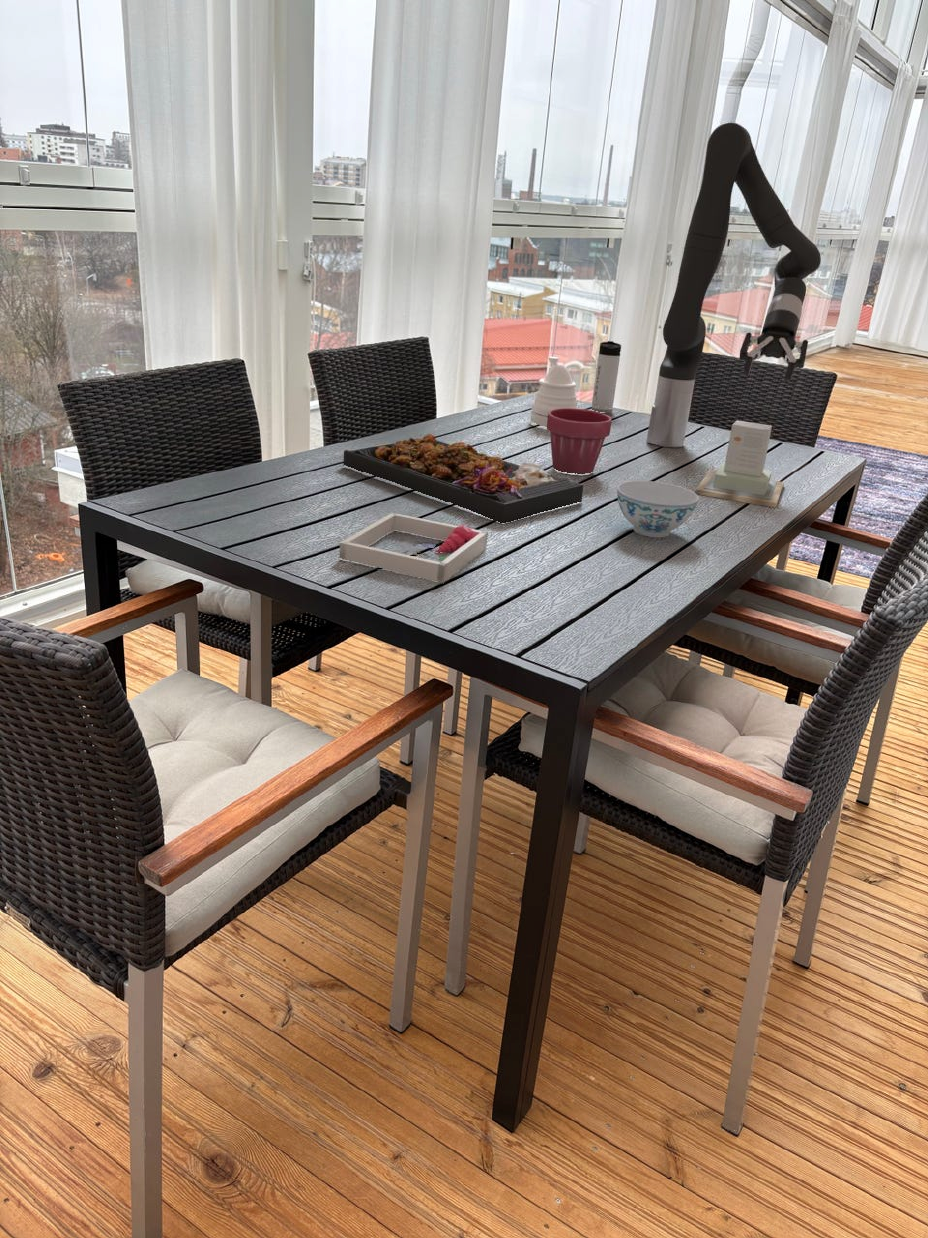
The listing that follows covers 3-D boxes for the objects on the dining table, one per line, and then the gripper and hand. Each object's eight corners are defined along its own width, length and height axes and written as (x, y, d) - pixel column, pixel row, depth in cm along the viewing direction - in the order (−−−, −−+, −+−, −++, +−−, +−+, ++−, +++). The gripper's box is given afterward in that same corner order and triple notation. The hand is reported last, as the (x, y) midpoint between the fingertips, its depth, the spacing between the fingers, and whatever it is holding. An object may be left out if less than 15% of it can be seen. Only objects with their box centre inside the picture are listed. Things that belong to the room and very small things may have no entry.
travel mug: (611, 410, 286) (621, 341, 278) (612, 414, 280) (622, 344, 272) (590, 408, 287) (599, 339, 279) (591, 412, 281) (600, 342, 273)
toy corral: (339, 560, 152) (339, 542, 150) (391, 528, 168) (392, 512, 167) (442, 583, 146) (444, 565, 145) (486, 548, 162) (487, 532, 161)
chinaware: (674, 551, 170) (682, 509, 166) (598, 531, 176) (604, 491, 173) (702, 531, 181) (709, 492, 178) (629, 514, 188) (635, 476, 185)
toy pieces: (431, 537, 166) (433, 513, 164) (485, 554, 161) (487, 529, 159) (389, 554, 157) (390, 528, 155) (444, 572, 151) (446, 546, 150)
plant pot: (574, 482, 207) (581, 423, 202) (528, 466, 216) (535, 410, 211) (616, 474, 216) (625, 418, 211) (571, 460, 225) (578, 405, 220)
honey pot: (527, 427, 254) (534, 358, 247) (532, 418, 266) (539, 352, 259) (575, 433, 253) (584, 364, 246) (577, 423, 265) (586, 357, 257)
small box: (763, 472, 213) (773, 425, 208) (759, 477, 208) (769, 429, 204) (727, 465, 215) (736, 419, 211) (722, 470, 211) (732, 423, 206)
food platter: (580, 505, 193) (587, 456, 189) (501, 527, 176) (507, 473, 172) (424, 456, 220) (427, 411, 216) (343, 470, 203) (344, 422, 199)
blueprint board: (695, 493, 206) (696, 488, 206) (708, 473, 224) (709, 468, 223) (775, 507, 201) (776, 502, 201) (783, 486, 218) (784, 481, 218)
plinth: (712, 487, 209) (715, 474, 207) (720, 475, 219) (722, 462, 218) (763, 496, 205) (766, 482, 204) (769, 483, 215) (771, 470, 214)
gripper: (752, 304, 217) (735, 361, 211) (816, 312, 212) (801, 370, 207) (749, 326, 223) (733, 382, 218) (812, 334, 219) (797, 391, 214)
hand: (766, 376), depth 213 cm, fingers open, 8 cm apart
